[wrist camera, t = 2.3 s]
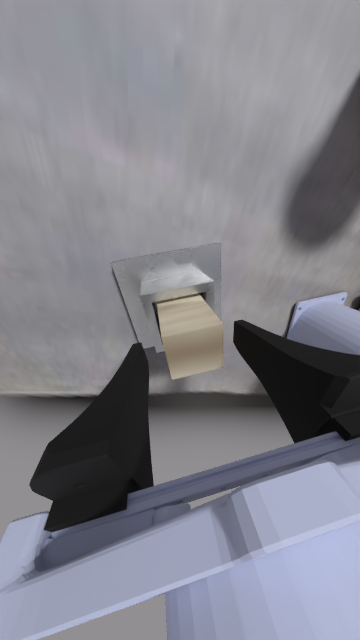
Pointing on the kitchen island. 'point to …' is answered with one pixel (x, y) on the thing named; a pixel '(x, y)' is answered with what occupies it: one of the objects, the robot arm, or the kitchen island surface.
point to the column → (190, 335)
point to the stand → (167, 285)
